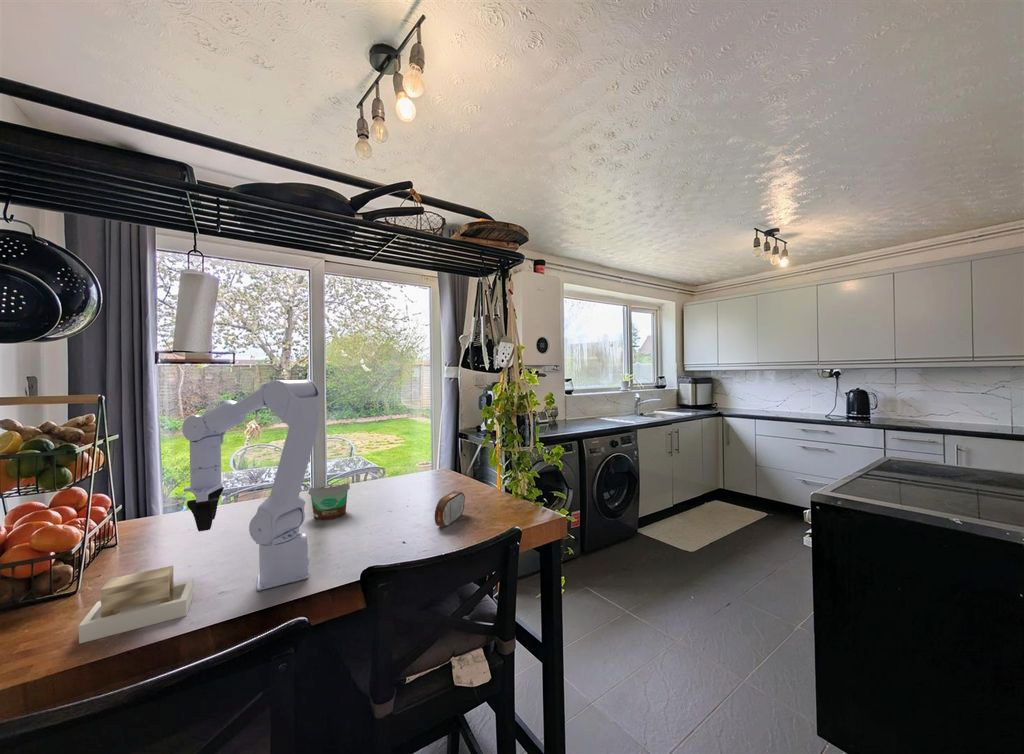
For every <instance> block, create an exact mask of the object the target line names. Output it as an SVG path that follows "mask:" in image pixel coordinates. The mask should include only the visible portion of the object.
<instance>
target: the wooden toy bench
mask: <svg viewBox="0 0 1024 754" xmlns="http://www.w3.org/2000/svg"><path fill="white" fill-rule="evenodd" d="M174 584H175V583H174V565H169V566H164V567H160V568H155V569H151V570H145V571H141V572H135V573H131V574H126V575H125V574H124V575H122V576H117V577H112V578H109V579H108V580H107V582H106V583H105V584H103V586H102V588H101V589H100V601H101V618H103V617H107V616H111V615H116V614H118V613H119V608H123V607H127V606H131V605H135V604H140V603H144V602H148V601H152V600H156V599H160V604H161V603H165V602H169V601H173V599H174Z"/></svg>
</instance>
